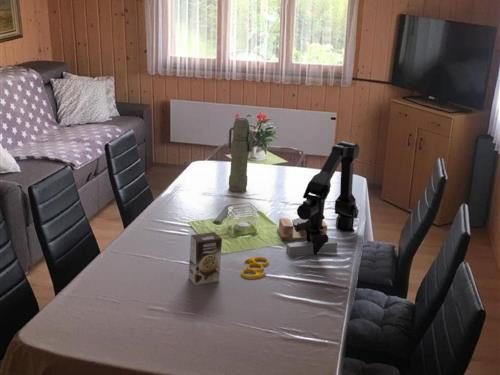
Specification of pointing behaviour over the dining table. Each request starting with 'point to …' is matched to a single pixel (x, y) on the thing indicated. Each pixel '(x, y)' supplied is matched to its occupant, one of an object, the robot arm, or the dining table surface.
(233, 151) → the thermos
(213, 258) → the brown food box
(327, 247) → the grey long bar
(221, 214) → the gray half cylinder
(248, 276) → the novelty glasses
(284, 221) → the display stand
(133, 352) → the dining table surface
